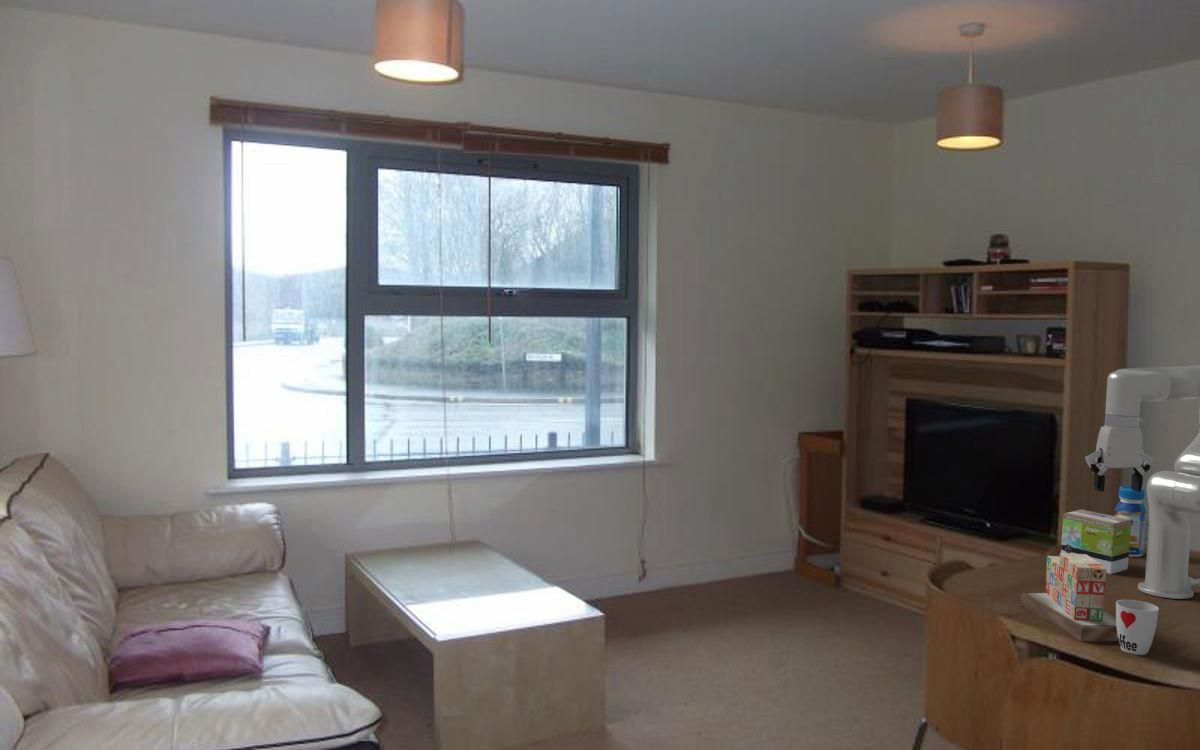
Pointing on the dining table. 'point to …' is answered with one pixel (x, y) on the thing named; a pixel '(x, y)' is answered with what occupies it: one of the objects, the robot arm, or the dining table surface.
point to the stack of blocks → (1077, 585)
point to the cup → (1135, 625)
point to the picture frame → (1071, 619)
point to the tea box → (1097, 538)
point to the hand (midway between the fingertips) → (1117, 490)
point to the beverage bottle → (1133, 517)
